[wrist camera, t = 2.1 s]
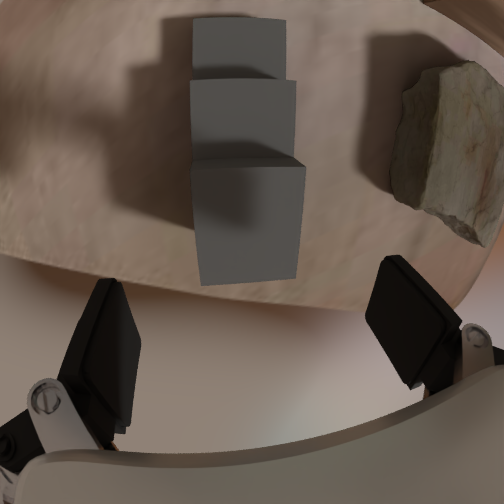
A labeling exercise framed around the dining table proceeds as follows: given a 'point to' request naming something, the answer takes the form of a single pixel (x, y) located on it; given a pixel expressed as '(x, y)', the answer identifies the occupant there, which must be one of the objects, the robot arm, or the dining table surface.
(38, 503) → the robot arm
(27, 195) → the dining table surface
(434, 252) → the dining table surface
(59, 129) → the dining table surface
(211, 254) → the grey stepped block
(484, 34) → the wood grain plank
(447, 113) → the marble piece
